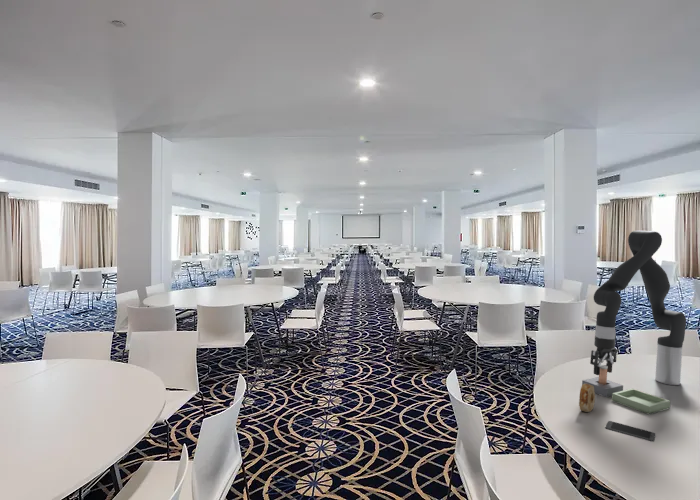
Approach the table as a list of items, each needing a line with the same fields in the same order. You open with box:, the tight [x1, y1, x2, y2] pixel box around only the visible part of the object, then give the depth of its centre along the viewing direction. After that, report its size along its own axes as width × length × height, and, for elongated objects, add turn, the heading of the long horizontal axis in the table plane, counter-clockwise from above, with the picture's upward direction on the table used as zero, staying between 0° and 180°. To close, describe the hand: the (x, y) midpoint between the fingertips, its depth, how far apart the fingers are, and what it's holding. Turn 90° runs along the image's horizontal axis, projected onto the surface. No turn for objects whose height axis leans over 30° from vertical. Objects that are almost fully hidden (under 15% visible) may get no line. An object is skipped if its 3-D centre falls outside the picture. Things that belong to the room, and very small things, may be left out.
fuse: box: [598, 364, 608, 385], centre depth 181 cm, size 3×3×11 cm
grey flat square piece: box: [581, 376, 624, 398], centre depth 181 cm, size 11×11×4 cm
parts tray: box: [611, 388, 671, 415], centre depth 167 cm, size 14×14×3 cm
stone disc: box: [578, 384, 596, 413], centre depth 160 cm, size 10×4×10 cm, turn 134°
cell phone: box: [604, 420, 656, 442], centre depth 144 cm, size 7×14×1 cm, turn 50°
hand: (602, 373), depth 180 cm, fingers open, 8 cm apart
